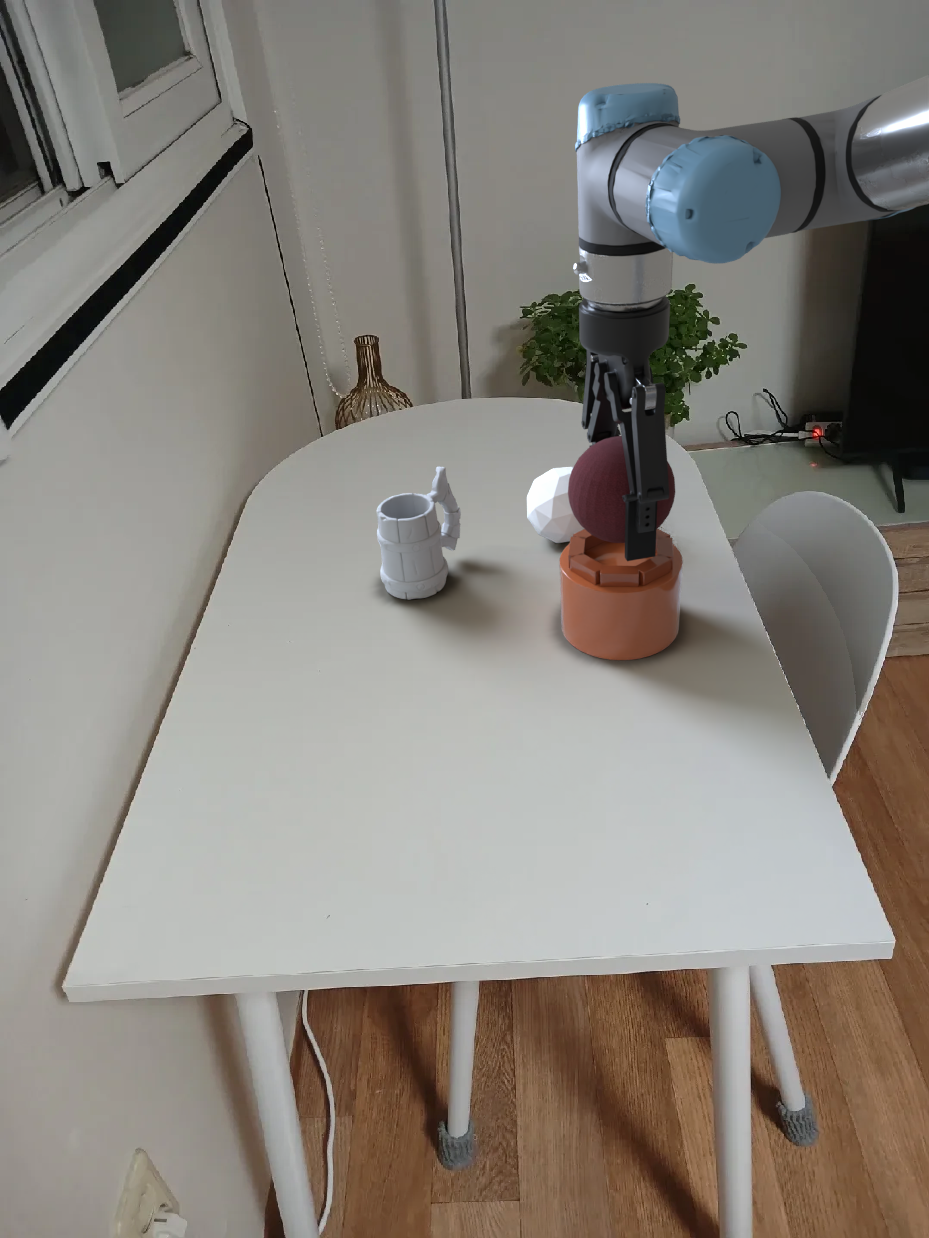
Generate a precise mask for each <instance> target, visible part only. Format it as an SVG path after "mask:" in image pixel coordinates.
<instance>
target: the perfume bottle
mask: <svg viewBox="0 0 929 1238" xmlns="http://www.w3.org/2000/svg"><path fill="white" fill-rule="evenodd" d="M573 467H574V466H563V467H553V468H551V469H550V470H547V471H546V472H544V473H542V474H541V475H539V476H538V477H536V478H535V479H534V480H533V482H532V484H531V486H530V489H529V491H528V493H527V496H526V518H527V519H528V521H529V523H530V524H531V526H532V527H533V529H534V530H535V532H536V533H537V535H539V536H540V537H543V538H544V539H547V540H549V541H551V542H553V543H556V544H561V543H568V542H569V543H570V538H571V537H573V534H575V533H577V532H579V531H581V530H583V529H584V528H583V527H582V526H581V525H580V523H579V522H578V521H577V519H576V518H575V516H574V515H573V512H572V509H571V507H570V503H569V498H568V485H569V478H570V475H571V472H572V469H573Z"/></svg>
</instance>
